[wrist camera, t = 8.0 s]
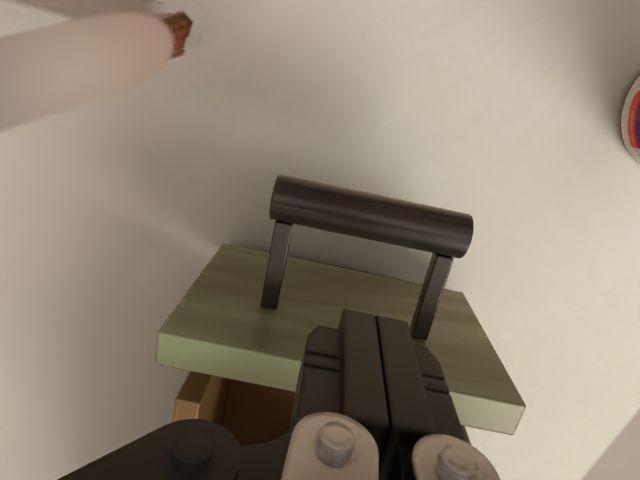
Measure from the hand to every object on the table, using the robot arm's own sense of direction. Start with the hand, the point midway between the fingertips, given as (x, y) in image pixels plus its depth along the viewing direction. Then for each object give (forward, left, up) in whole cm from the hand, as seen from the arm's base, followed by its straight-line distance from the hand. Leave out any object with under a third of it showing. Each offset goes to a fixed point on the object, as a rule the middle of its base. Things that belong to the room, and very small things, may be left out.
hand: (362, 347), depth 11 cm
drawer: (+6, -2, -10) cm, 12 cm away
